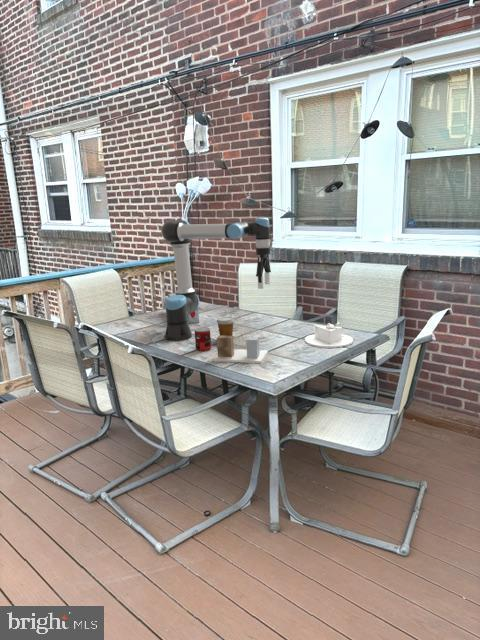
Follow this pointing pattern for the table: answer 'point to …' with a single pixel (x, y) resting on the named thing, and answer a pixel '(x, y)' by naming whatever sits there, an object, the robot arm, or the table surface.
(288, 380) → the table surface
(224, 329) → the disposable coffee cup
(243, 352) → the board
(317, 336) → the dish
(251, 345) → the grey block
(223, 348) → the walnut block
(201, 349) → the canned food
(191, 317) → the soda pack
